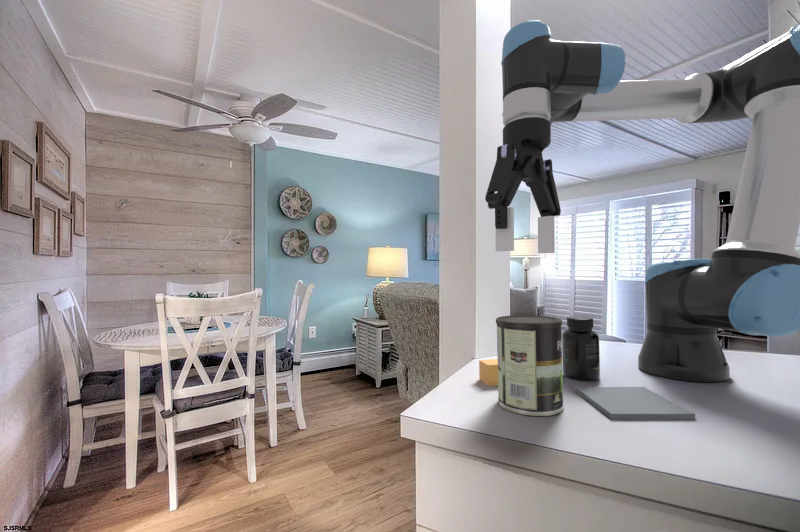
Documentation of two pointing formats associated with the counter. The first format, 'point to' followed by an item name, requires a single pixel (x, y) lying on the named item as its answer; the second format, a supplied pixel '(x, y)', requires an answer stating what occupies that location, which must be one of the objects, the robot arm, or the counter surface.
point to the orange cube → (489, 371)
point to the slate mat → (633, 403)
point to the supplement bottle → (580, 350)
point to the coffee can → (530, 364)
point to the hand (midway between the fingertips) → (527, 252)
